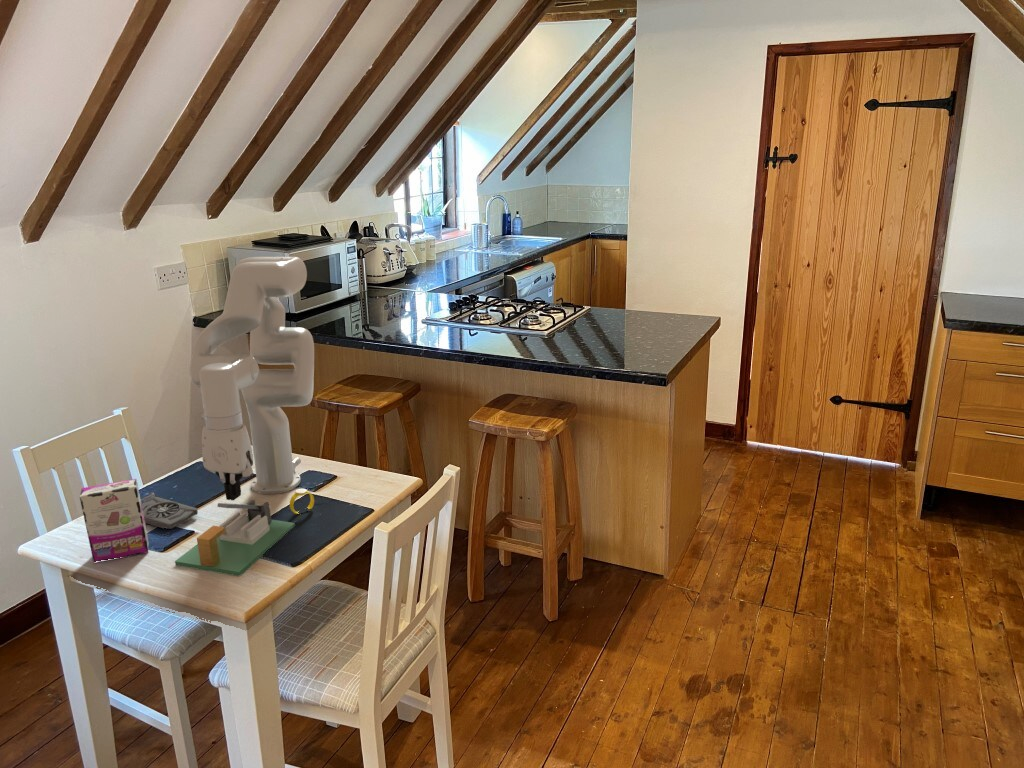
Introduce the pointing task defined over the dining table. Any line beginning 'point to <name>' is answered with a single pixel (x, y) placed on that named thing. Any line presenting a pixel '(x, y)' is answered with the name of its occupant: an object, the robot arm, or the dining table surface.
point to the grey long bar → (239, 506)
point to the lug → (209, 546)
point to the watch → (299, 493)
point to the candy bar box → (114, 520)
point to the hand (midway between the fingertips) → (233, 497)
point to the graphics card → (165, 512)
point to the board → (241, 541)
